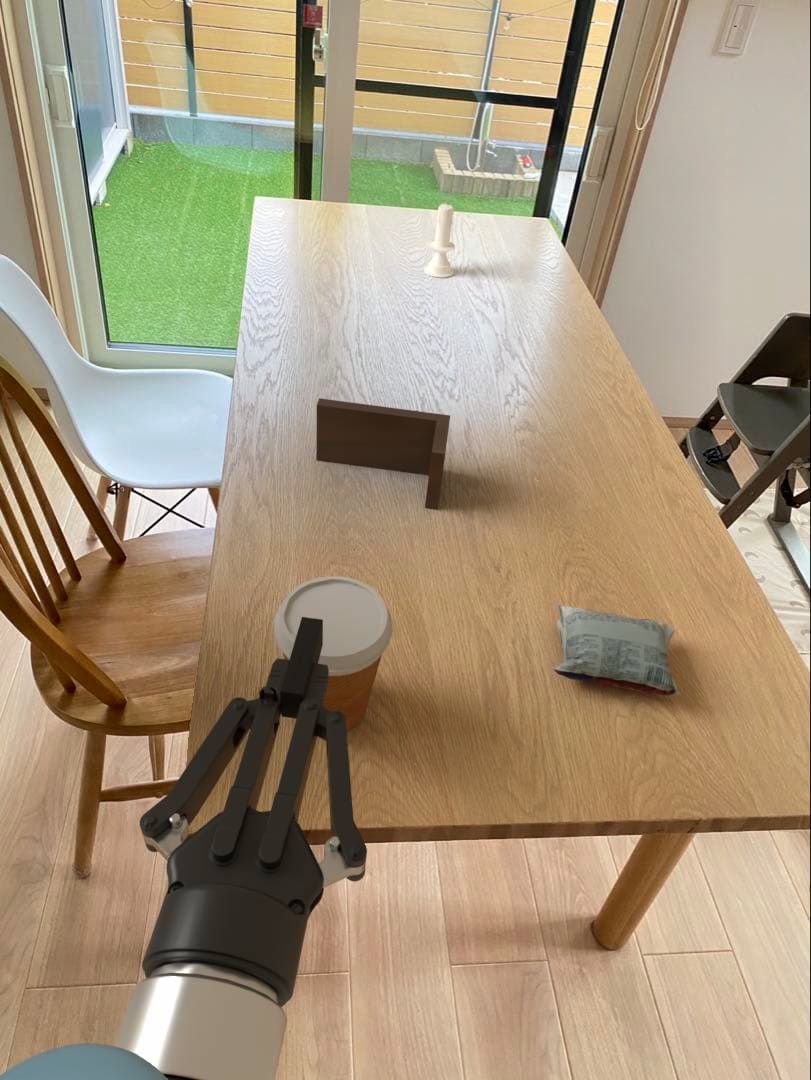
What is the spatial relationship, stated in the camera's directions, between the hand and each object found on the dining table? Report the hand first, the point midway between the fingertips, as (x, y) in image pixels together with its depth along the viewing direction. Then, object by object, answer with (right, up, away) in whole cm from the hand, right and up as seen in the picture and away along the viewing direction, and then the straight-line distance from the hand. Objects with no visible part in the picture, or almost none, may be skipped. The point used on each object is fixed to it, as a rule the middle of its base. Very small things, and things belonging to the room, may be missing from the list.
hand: (312, 631), depth 55 cm
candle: (+13, +54, +85) cm, 102 cm away
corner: (+3, +14, +39) cm, 41 cm away
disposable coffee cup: (0, -8, +15) cm, 17 cm away
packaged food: (+26, -5, +21) cm, 34 cm away
